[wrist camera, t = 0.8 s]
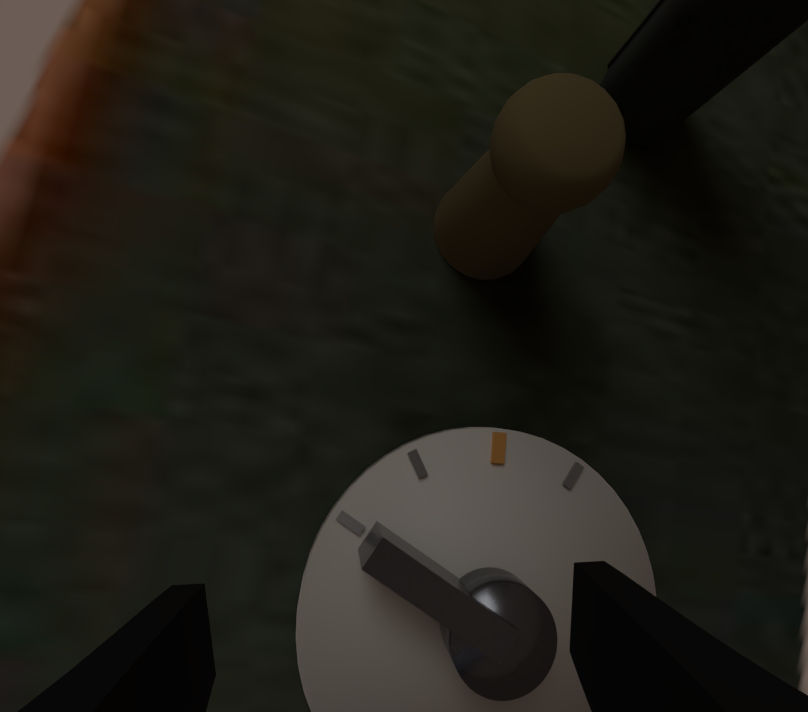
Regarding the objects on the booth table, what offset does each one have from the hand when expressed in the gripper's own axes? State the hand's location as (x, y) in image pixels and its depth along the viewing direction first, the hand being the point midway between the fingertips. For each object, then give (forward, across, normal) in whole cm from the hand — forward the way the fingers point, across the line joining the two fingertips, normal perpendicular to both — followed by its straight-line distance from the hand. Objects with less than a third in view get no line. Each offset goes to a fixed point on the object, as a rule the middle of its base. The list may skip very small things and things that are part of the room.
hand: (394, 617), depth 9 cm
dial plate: (+14, -5, +12) cm, 19 cm away
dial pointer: (+13, -3, +10) cm, 16 cm away
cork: (+21, -6, -8) cm, 23 cm away
